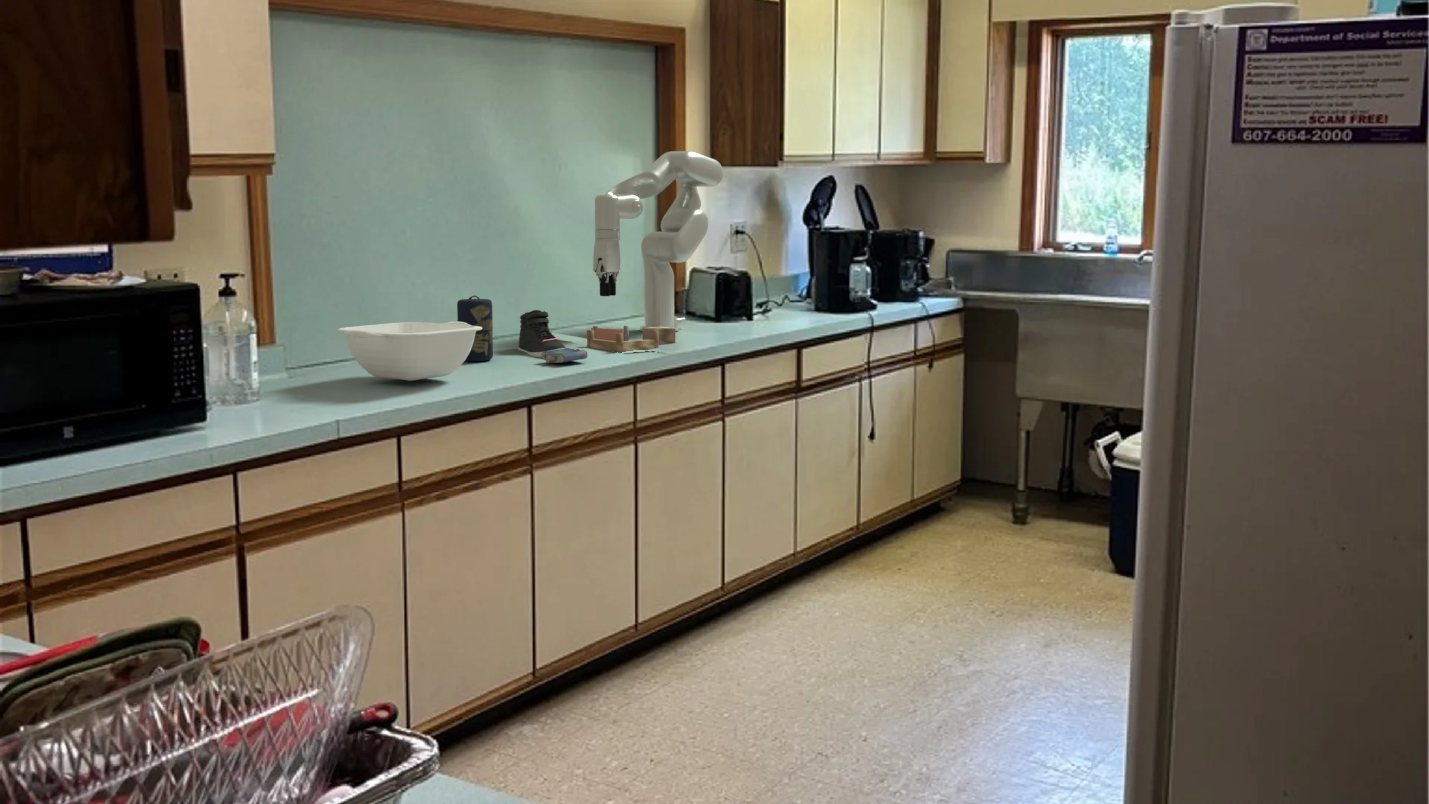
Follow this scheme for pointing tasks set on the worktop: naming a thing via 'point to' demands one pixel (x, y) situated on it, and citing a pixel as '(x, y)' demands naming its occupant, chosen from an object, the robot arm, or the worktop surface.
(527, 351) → the sneaker
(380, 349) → the white bowl
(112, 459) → the worktop surface
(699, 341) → the worktop surface
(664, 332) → the seat block
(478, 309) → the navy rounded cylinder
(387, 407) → the worktop surface
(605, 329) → the rail
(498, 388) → the worktop surface
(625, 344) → the frame
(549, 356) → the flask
